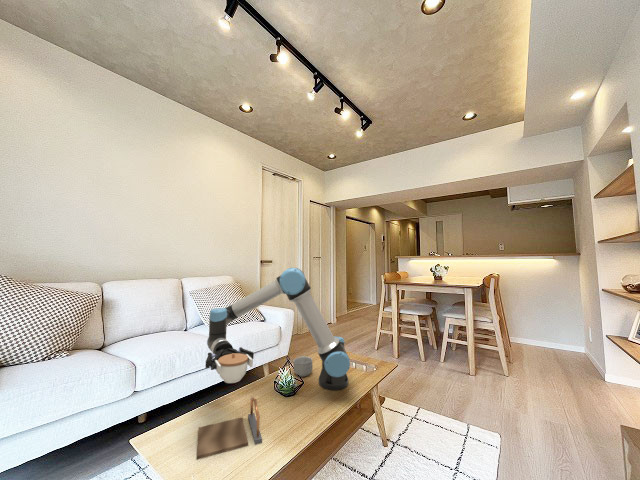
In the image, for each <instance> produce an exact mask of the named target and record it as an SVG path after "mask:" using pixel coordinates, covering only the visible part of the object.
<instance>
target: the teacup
mask: <svg viewBox="0 0 640 480" xmlns="http://www.w3.org/2000/svg"><path fill="white" fill-rule="evenodd" d="M292 363H293V372H294V374H295V375H297V374H298V375H299V376H298V375H297V376H298V377H307V376H309V375H310V374H311V373H312V371H313V358H312V357H310V356H306V355H302V356H298V357H296V358H294V359H293V360H292Z"/></svg>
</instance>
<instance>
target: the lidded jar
mask: <svg viewBox="0 0 640 480" xmlns="http://www.w3.org/2000/svg"><path fill="white" fill-rule="evenodd" d="M218 362H219V364H220V365H221V374H218V375H219V377H220V378H221V379H222V380H223V382H224V383H226V384H235V383H238V382H240V381H241V380H242V379H243V377H244V376H245V375H246V373H247V370H248V366H249V365H248V356H247V355H245V354H240V353H232V354H228V355H224V356H222V357H220V358H219V359H218Z"/></svg>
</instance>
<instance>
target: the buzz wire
mask: <svg viewBox="0 0 640 480" xmlns="http://www.w3.org/2000/svg"><path fill="white" fill-rule="evenodd" d="M257 401H258V400H257V399H256V398H255V397H254V396H251V397H250V410H249V411H250V413H249V414H251V415H253V413H254V410H255V417H256V421H257V429H256V436H257V437H258V436H259V430H260V412H259V407H258V402H257Z"/></svg>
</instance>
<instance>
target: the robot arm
mask: <svg viewBox="0 0 640 480" xmlns="http://www.w3.org/2000/svg"><path fill="white" fill-rule="evenodd" d="M305 276H306V275H305V273H304V272H303V271H302V269H299V268H298V267H289V268H287V269H285V270H284V271H283V272H282V273H281V274H280V275H279V276H277V277H275V280H274V281H272V282H270V283H268V284H267V285H264V286H263V287H261V288H259V289H258V290H255V291H254V292H252V293H250V294H247V296H245V297H243V298H241V299H239V300H238V301H237V300H236V302H234V303H232V304H230V305H228V306H226V307H217V308H212V309H210V312H209V317H208V319H209V327H208V328H209V329H208V332H209V333H208V337H207V340H206V344H207V347H208V349H209V350H210V351H211V352H208V353H207V358H206V360H205V369H208V368H209V369H210V370H211V371H212V370H216V373H217V374H218V375H219V374H221V365H220V364H219V362H218V359H219V358H220V357H222V356H224V355H228V354H232V353H240V354H245V355H247V356H248V365H247V366H249V367H250V368H253V364H254V363H253V362H254V360H253V359H254V358H255V357H254V355H255V354H254V351H251V350H248V349H245V348H243V347H239V348H238V349H235V348H234V347H233V345H232V344H231V343H230V341H229V340H227V327H228V326H227V325H228V324H230V323H231V322H233V321H235V320H237V319H238V318H240V317H242V316H244V315H245V314H247V313H249V312H251V311H253V310H254V309H256V308H258V307H261V306H262V305H264V304H266V303H267V302H270V301H271V300H273V299H274V298H277V297H278V296H280V295H281V294H283V295H286V297H287V299H288V300H289V302H293V303H294V305H295V307H296V309H297V310H298V312H299V313H300V316H301V318H302V319H303V321H304V323H305V325H306V327H307V329H308V331H309V333H310V335H311V337H312V338H313V340H314V341H315V344H316V345H317V347H318V348H317V354H318V356H319V358H320V360H321V364H322V365H321V371H320V374H319V377H318V385H319V386H320V387H321V388H323V389H325V390H330V391H338V390H343V389H345V388H347V387H348V386H349V378H348V374H347V373H348V371H349V370H350V366H351V361H350V360H351V359H350V357H349V355H348V352H347V350H346V349H345V344H346V342H345V338H343V337H342V336H335V335H334V334H333V333H332V331H331V329H330V327H329V325H328V324H327V322H326V320H325V318H324V316H323V315H322V313H321V311H320V309H319V307H318V305H317V303H316V301H315V300H314V298H313V296H312V294H311V291H312V288H311V286H310V284H309V282H308V280H307V279H306V277H305ZM347 385H348V386H347ZM346 386H347V387H346Z"/></svg>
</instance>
